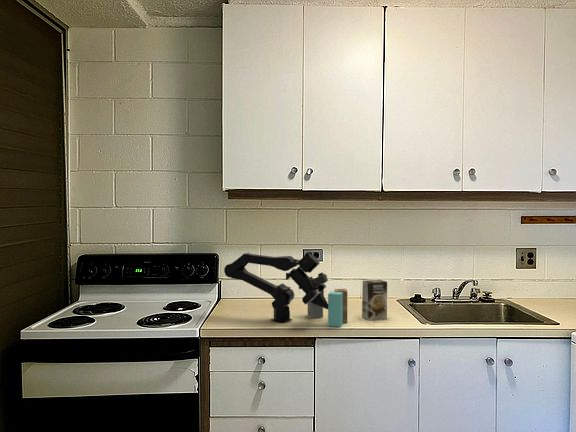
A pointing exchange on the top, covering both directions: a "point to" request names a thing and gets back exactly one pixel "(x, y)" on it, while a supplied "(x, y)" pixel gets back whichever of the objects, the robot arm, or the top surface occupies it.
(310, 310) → the charcoal block
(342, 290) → the walnut block
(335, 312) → the teal block
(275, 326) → the top surface
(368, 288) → the coffee box
